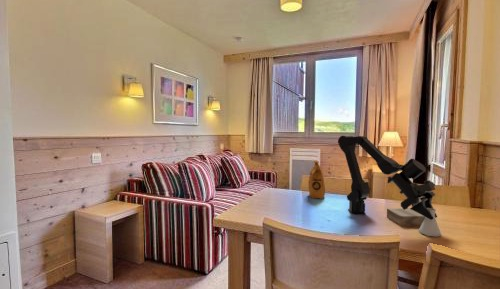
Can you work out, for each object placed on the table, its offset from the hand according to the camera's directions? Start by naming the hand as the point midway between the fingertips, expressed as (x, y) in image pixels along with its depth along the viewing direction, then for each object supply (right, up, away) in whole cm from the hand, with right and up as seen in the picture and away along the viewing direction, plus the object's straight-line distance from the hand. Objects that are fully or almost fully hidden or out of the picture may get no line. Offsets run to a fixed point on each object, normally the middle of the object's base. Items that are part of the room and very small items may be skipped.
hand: (434, 218), depth 102 cm
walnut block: (-2, -6, +16) cm, 17 cm away
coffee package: (-31, -3, +59) cm, 67 cm away
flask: (-1, -7, +2) cm, 7 cm away
